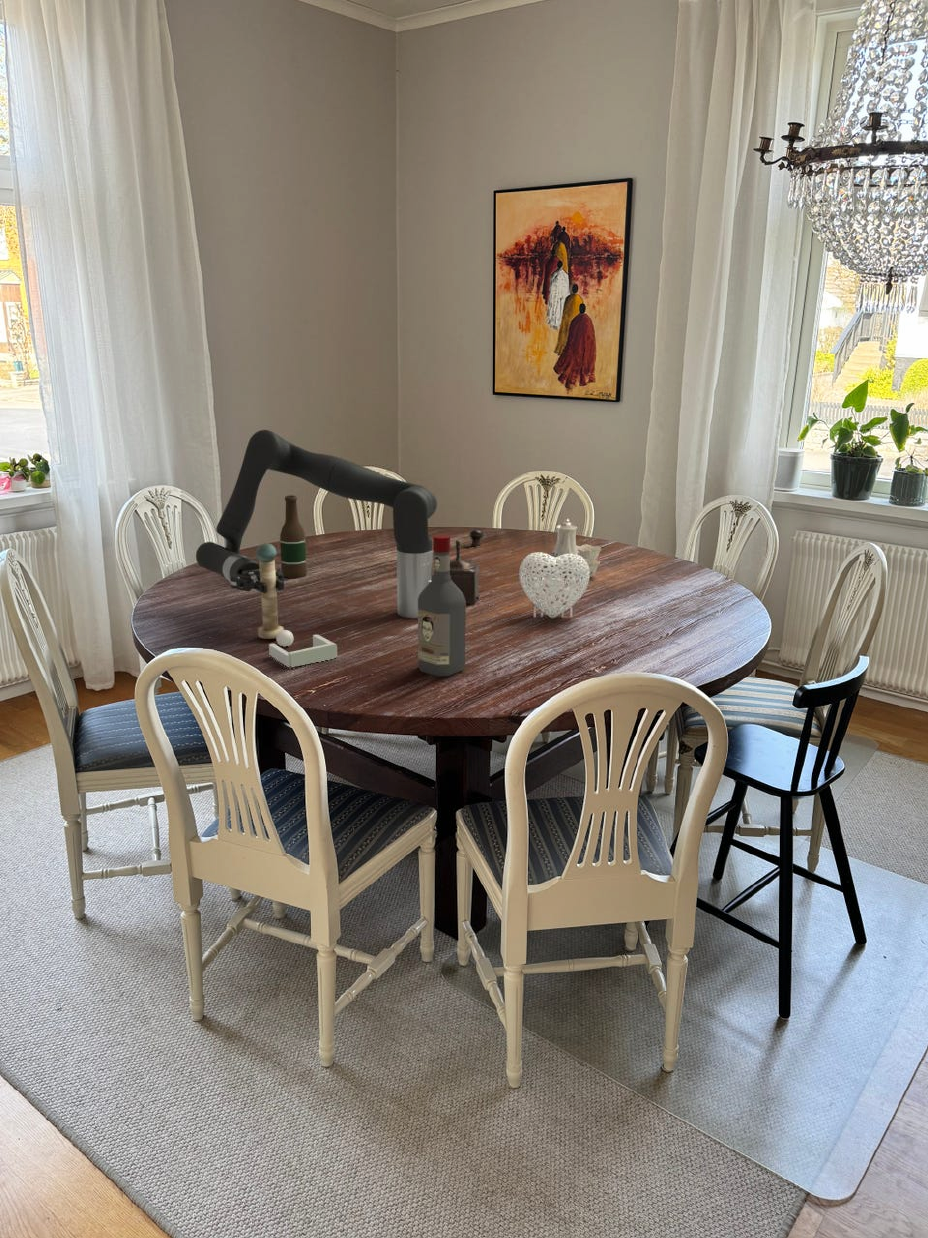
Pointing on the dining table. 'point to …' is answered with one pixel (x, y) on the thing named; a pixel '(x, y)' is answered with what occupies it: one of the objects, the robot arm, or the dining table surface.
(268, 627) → the post
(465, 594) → the manual coffee grinder
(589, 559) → the chinaware
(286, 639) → the ball
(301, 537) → the beer bottle
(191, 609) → the dining table surface
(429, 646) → the liquor
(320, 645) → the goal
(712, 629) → the dining table surface
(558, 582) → the decorative heart
